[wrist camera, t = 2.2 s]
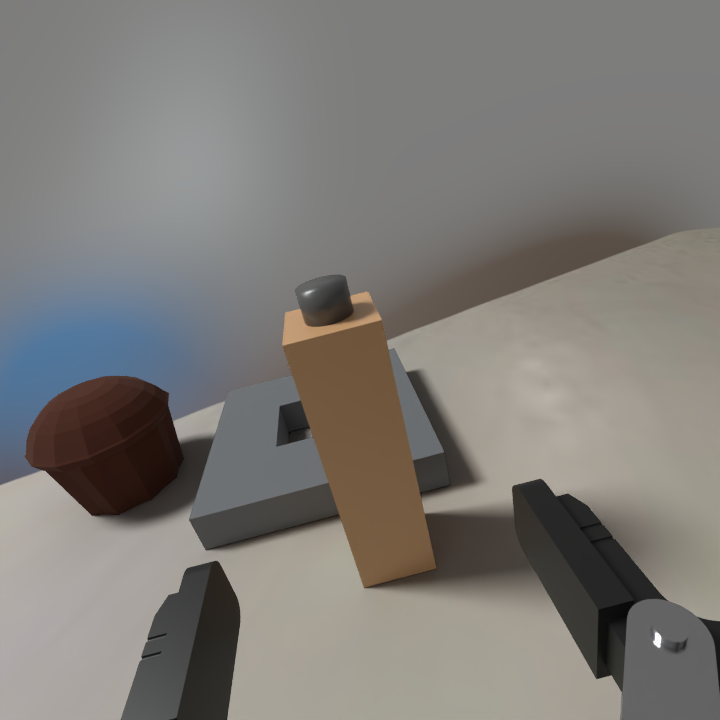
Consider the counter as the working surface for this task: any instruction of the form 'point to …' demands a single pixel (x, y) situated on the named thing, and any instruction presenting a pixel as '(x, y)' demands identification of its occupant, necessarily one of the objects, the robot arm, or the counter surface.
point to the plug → (358, 427)
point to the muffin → (107, 443)
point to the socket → (286, 463)
